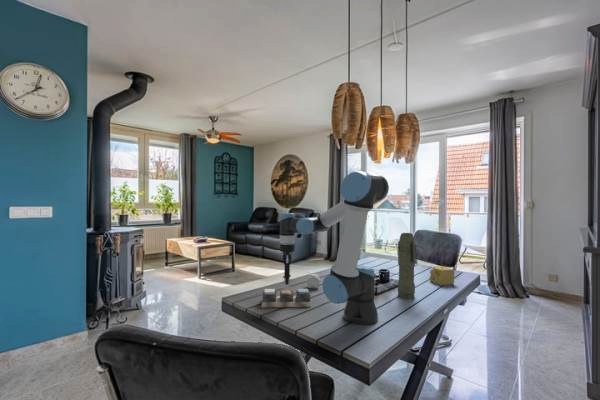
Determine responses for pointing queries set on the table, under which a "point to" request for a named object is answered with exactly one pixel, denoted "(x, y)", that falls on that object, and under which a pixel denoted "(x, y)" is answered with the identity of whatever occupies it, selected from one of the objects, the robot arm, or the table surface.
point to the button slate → (303, 291)
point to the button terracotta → (286, 292)
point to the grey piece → (286, 300)
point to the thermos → (406, 266)
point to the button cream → (269, 291)
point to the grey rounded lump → (313, 281)
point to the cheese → (442, 275)
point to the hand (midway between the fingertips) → (286, 290)
